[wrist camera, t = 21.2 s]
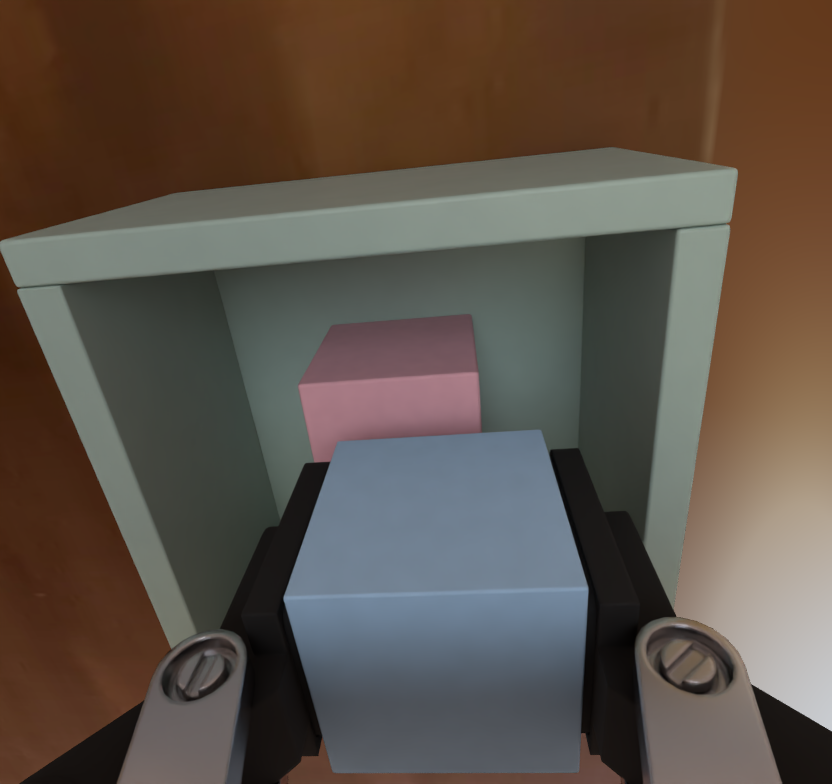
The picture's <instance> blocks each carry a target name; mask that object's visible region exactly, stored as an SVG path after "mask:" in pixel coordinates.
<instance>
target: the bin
mask: <svg viewBox="0 0 832 784" xmlns="http://www.w3.org/2000/svg"><path fill="white" fill-rule="evenodd" d="M737 176H738V172H737V169H735V168H732V167H727V166H721V165H715V164H709V163H703V162H697V161H691V160H685V159H679V158H673V157H667V156H661V155H656V154H650V153H644V152H638V151H632V150H626V149H620V148H615V147H610V148H600V149H591V150H581V151H571V152H562V153H552V154H543V155H533V156H524V157H514V158H505V159H495V160H486V161H476V162H466V163H457V164H447V165H438V166H428V167H419V168H409V169H400V170H390V171H381V172H371V173H361V174H352V175H342V176H333V177H323V178H314V179H304V180H295V181H285V182H275V183H266V184H256V185H247V186H237V187H228V188H218V189H209V190H199V191H190V192H180V193H174V194H170V195H168V196H163V197H160V198H156V199H152V200H149V201H145V202H141V203H137V204H134V205H130V206H126V207H123V208H119V209H115V210H112V211H108V212H104V213H101V214H97V215H93V216H90V217H86V218H82V219H79V220H75V221H71V222H67V223H64V224H60V225H56V226H53V227H49V228H45V229H42V230H38V231H34V232H31V233H27V234H23V235H20V236H16V237H12V238H9V239H5V240H2V241H1V242H0V251H1V253H2V255H3V258H4V260H5V262H6V265H7V267H8V269H9V272H10V274H11V276H12V279H13V281H14V283H15V285H16V286H17V287H21V288H20V289H18V290H17V293H18V295H19V297H20V300H21V302H22V304H23V306H24V309H25V311H26V313H27V316H28V318H29V320H30V323H31V325H32V327H33V330H34V332H35V334H36V337H37V339H38V341H39V343H40V346H41V348H42V350H43V353H44V355H45V357H46V360H47V362H48V364H49V367H50V369H51V371H52V374H53V376H54V378H55V381H56V383H57V385H58V387H59V390H60V392H61V394H62V397H63V399H64V401H65V404H66V406H67V408H68V411H69V413H70V415H71V418H72V420H73V422H74V424H75V427H76V429H77V431H78V434H79V436H80V438H81V441H82V443H83V445H84V448H85V450H86V452H87V455H88V457H89V459H90V461H91V464H92V466H93V468H94V471H95V473H96V475H97V478H98V480H99V482H100V485H101V487H102V489H103V492H104V494H105V496H106V498H107V501H108V503H109V505H110V508H111V510H112V512H113V515H114V517H115V519H116V522H117V524H118V526H119V529H120V531H121V533H122V536H123V538H124V540H125V542H126V545H127V547H128V549H129V552H130V554H131V556H132V559H133V561H134V563H135V566H136V568H137V570H138V573H139V575H140V577H141V579H142V582H143V584H144V586H145V589H146V591H147V593H148V596H149V598H150V600H151V603H152V605H153V607H154V610H155V612H156V614H157V616H158V619H159V621H160V623H161V626H162V628H163V630H164V633H165V635H166V637H167V640H168V642H169V644H170V647H171V649H172V648H174V647H175V646H176V645H177V644H179V643H180V642H181V641H183V640H185V639H187V638H189V637H190V636H192V635H194V634H197V633H200V632H204V631H207V630H215V629H220V627H221V625H222V622H223V620H224V618H225V616H226V614H227V611H228V609H229V607H230V605H231V602H232V600H233V598H234V596H235V594H236V591H237V589H238V587H239V585H240V582H241V580H242V578H243V576H244V574H245V571H246V569H247V567H248V565H249V563H250V560H251V558H252V556H253V554H254V551H255V549H256V547H257V545H258V543H259V540H260V538H261V536H262V534H263V532H264V531H265V529H266V528H268V527H272V526H278V525H279V523H280V521H281V518H282V516H283V513H284V511H285V509H286V506H287V504H288V502H289V499H290V497H291V494H292V492H293V490H294V487H295V485H296V483H297V480H298V478H299V475H300V473H301V471H302V468H303V466H304V464H305V463H314V459H313V455H312V450H311V445H310V441H309V436H308V432H307V427H306V422H305V418H304V413H303V409H302V404H301V399H300V395H299V390H298V384H299V382H300V380H301V379H302V377H303V375H304V373H305V372H306V370H307V368H308V366H309V364H310V363H311V361H312V359H313V357H314V356H315V354H316V352H317V350H318V349H319V347H320V345H321V343H322V341H323V340H324V338H325V336H326V334H327V333H328V331H329V329H330V327H331V326H332V325H338V324H351V323H363V322H376V321H388V320H401V319H413V318H426V317H439V316H451V315H464V314H470V315H471V316H472V322H473V331H474V339H475V347H476V355H477V363H478V371H479V386H480V404H481V422H482V433H488V432H505V431H522V430H541V431H542V434H543V437H544V440H545V444H546V447H547V450H548V454H550V450H551V449H567V448H579V450H580V452H581V455H582V457H583V460H584V462H585V465H586V467H587V470H588V472H589V475H590V478H591V480H592V483H593V485H594V488H595V490H596V493H597V495H598V498H599V500H600V503H601V505H602V508H603V510H604V512H610V511H626V512H628V513H629V515H630V517H631V518H632V520H633V523H634V525H635V527H636V529H637V531H638V533H639V536H640V538H641V540H642V542H643V544H644V547H645V549H646V551H647V553H648V555H649V558H650V560H651V562H652V564H653V566H654V568H655V571H656V573H657V575H658V577H659V579H660V582H661V584H662V586H663V588H664V590H665V593H666V595H667V597H668V599H669V601H670V603H671V606H672V608H673V610H674V603H675V596H676V590H677V583H678V577H679V570H680V563H681V556H682V550H683V543H684V536H685V530H686V523H687V516H688V509H689V503H690V496H691V489H692V482H693V476H694V469H695V462H696V456H697V449H698V442H699V435H700V429H701V422H702V415H703V409H704V402H705V395H706V388H707V382H708V375H709V368H710V362H711V354H712V348H713V341H714V335H715V328H716V321H717V314H718V308H719V301H720V294H721V288H722V281H723V274H724V268H725V260H726V254H727V247H728V240H729V233H730V226H729V225H727V224H726V223H728V222H730V220H731V217H732V210H733V203H734V196H735V189H736V183H737Z"/></svg>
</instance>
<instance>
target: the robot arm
mask: <svg viewBox="0 0 832 784" xmlns="http://www.w3.org/2000/svg"><path fill="white" fill-rule="evenodd" d="M549 457H550V460H551V464H552V467H553V471H554V474H555V477H556V481H557V484H558V487H559V491H560V494H561V497H562V501H563V504H564V508H565V511H566V514H567V518H568V521H569V524H570V528H571V531H572V534H573V538H574V541H575V545H576V548H577V551H578V555H579V558H580V561H581V565H582V568H583V571H584V575H585V578H586V581H587V585H588V588H589V589H588V608H587V628H586V647H585V666H584V685H583V704H582V724H581V733H586V738H587V742H588V747H589V751H590V755H600V756H601V760H602V762H603V763H605V764H606V765H607V766H608V767H609V768H611V769H612V770H613V771H614V772H616V773H617V774H618V775H619V776H620V777H621V784H832V731H830V730H828V729H827V728H825V727H823V726H821V725H820V724H818V723H816V722H815V721H813V720H811V719H810V718H808V717H806V716H805V715H803V714H801V713H799V712H798V711H796V710H794V709H792V708H791V707H789V706H787V705H786V704H784V703H782V702H781V701H779V700H777V699H775V698H774V697H772V696H770V695H769V694H767V693H765V692H763V691H762V690H760V689H759V688H757V687H755V686H753V685H752V684H751V683H750V680H749V677H748V673H747V670H746V667H745V664H744V662H743V660H742V658H741V656H740V654H739V652H738V651H737V650H736V649H735V647H734V646H733V645H732V644H731V643H730V642H729V641H728V640H727V639H726V638H725V637H724V636H722V635H721V634H719V633H718V632H717V631H715V630H714V629H713V628H710V627H708V626H706V625H704V624H702V623H699V622H697V621H694V620H689V619H685V618H681V617H676V614H675V612H674V610H673V608H672V606H671V603H670V601H669V599H668V597H667V595H666V593H665V590H664V588H663V586H662V584H661V582H660V579H659V577H658V575H657V573H656V571H655V568H654V566H653V564H652V562H651V560H650V558H649V555H648V553H647V551H646V549H645V547H644V544H643V542H642V540H641V538H640V536H639V533H638V531H637V529H636V527H635V525H634V523H633V520H632V518H631V517H630V515H629V513H628V512H626V511H610V512H604V510H603V508H602V505H601V503H600V500H599V498H598V495H597V493H596V490H595V488H594V485H593V483H592V480H591V478H590V475H589V472H588V470H587V467H586V465H585V462H584V460H583V457H582V455H581V452H580V450H579V448H567V449H551V450H550V454H549ZM329 465H330V462H314V463H305V464H304V466H303V468H302V471H301V473H300V475H299V478H298V480H297V483H296V485H295V487H294V490H293V492H292V494H291V497H290V499H289V502H288V504H287V506H286V509H285V511H284V513H283V516H282V518H281V521H280V523H279V525H278V526H272V527H268V528H266V529H265V531H264V532H263V534H262V536H261V538H260V540H259V543H258V545H257V547H256V549H255V551H254V554H253V556H252V558H251V560H250V563H249V565H248V567H247V569H246V571H245V574H244V576H243V578H242V580H241V582H240V585H239V587H238V589H237V591H236V594H235V596H234V598H233V600H232V602H231V605H230V607H229V609H228V611H227V614H226V616H225V618H224V620H223V622H222V625H221V627H220V629H215V630H207V631H204V632H200V633H197V634H194V635H192V636H190V637H189V638H187V639H185V640H183V641H181V642H180V643H179V644H177V645H176V646H175V647H174V648H172V649H171V650H170V651H169V652H168V653H167V654H166V655H165V657H164V658H163V659H162V660H161V661H160V663H159V664H158V666H157V668H156V670H155V672H154V674H153V676H152V679H151V682H150V685H149V688H148V691H147V694H146V697H145V700H144V701H143V702H141V703H140V704H138V705H137V706H135V707H134V708H132V709H131V710H129V711H128V712H126V713H125V714H123V715H122V716H120V717H119V718H117V719H116V720H114V721H113V722H111V723H110V724H108V725H107V726H105V727H104V728H102V729H101V730H99V731H98V732H96V733H95V734H93V735H92V736H90V737H89V738H87V739H86V740H84V741H83V742H81V743H80V744H78V745H77V746H75V747H74V748H72V749H71V750H69V751H67V752H66V753H64V754H63V755H61V756H60V757H58V758H57V759H55V760H54V761H52V762H51V763H49V764H48V765H46V766H45V767H43V768H42V769H40V770H39V771H37V772H36V773H34V774H33V775H31V776H30V777H28V778H27V779H25V780H24V781H22V782H21V783H20V784H288V772H289V771H291V770H292V769H293V768H294V767H295V766H296V765H298V764H299V763H300V761H301V757H302V756H318V754H319V749H320V745H321V740H322V733H321V729H320V726H319V722H318V719H317V715H316V712H315V708H314V705H313V701H312V698H311V694H310V690H309V687H308V683H307V680H306V676H305V673H304V669H303V666H302V662H301V659H300V655H299V652H298V648H297V645H296V641H295V638H294V634H293V631H292V627H291V624H290V620H289V617H288V613H287V610H286V606H285V603H284V595H285V592H286V589H287V586H288V583H289V580H290V577H291V574H292V571H293V569H294V566H295V563H296V560H297V557H298V554H299V551H300V548H301V545H302V543H303V540H304V537H305V534H306V531H307V528H308V525H309V522H310V519H311V517H312V514H313V511H314V508H315V505H316V502H317V499H318V496H319V493H320V491H321V488H322V485H323V482H324V479H325V476H326V473H327V470H328V467H329Z"/></svg>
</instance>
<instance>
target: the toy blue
mask: <svg viewBox="0 0 832 784" xmlns="http://www.w3.org/2000/svg"><path fill="white" fill-rule="evenodd" d="M588 589H589V588H588V585H587V581H586V578H585V575H584V571H583V568H582V565H581V561H580V558H579V555H578V551H577V548H576V545H575V541H574V538H573V534H572V531H571V528H570V524H569V521H568V518H567V514H566V511H565V508H564V504H563V501H562V497H561V494H560V491H559V487H558V484H557V481H556V477H555V474H554V471H553V467H552V464H551V460H550V457H549V454H548V450H547V447H546V444H545V440H544V437H543V434H542V431H541V430H522V431H505V432H488V433H471V434H454V435H437V436H420V437H403V438H386V439H369V440H352V441H339V442H337V444H336V447H335V450H334V453H333V456H332V459H331V462H330V465H329V467H328V470H327V473H326V476H325V479H324V482H323V485H322V488H321V491H320V493H319V496H318V499H317V502H316V505H315V508H314V511H313V514H312V517H311V519H310V522H309V525H308V528H307V531H306V534H305V537H304V540H303V543H302V545H301V548H300V551H299V554H298V557H297V560H296V563H295V566H294V569H293V571H292V574H291V577H290V580H289V583H288V586H287V589H286V592H285V595H284V603H285V606H286V610H287V613H288V617H289V620H290V624H291V627H292V631H293V634H294V638H295V641H296V645H297V648H298V652H299V655H300V659H301V662H302V666H303V669H304V673H305V676H306V680H307V683H308V687H309V690H310V694H311V698H312V701H313V705H314V708H315V712H316V715H317V719H318V722H319V726H320V729H321V733H322V736H323V740H324V743H325V747H326V750H327V754H328V757H329V761H330V764H331V768H332V771H333V772H334V773H577V772H579V762H580V743H581V724H582V704H583V685H584V666H585V647H586V628H587V608H588Z"/></svg>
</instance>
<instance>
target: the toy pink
mask: <svg viewBox="0 0 832 784" xmlns="http://www.w3.org/2000/svg"><path fill="white" fill-rule="evenodd" d="M298 390H299V395H300V399H301V404H302V409H303V413H304V418H305V422H306V427H307V432H308V436H309V441H310V445H311V450H312V455H313V459H314V462H331V459H332V456H333V453H334V450H335V447H336V444H337V442H339V441H352V440H369V439H386V438H403V437H420V436H437V435H454V434H471V433H482V422H481V404H480V386H479V371H478V363H477V355H476V347H475V339H474V331H473V322H472V316H471V315H470V314H464V315H451V316H439V317H426V318H413V319H401V320H388V321H376V322H363V323H351V324H338V325H332V326H331V327H330V329H329V331H328V333H327V334H326V336H325V338H324V340H323V341H322V343H321V345H320V347H319V349H318V350H317V352H316V354H315V356H314V357H313V359H312V361H311V363H310V364H309V366H308V368H307V370H306V372H305V373H304V375H303V377H302V379H301V380H300V382H299V384H298Z"/></svg>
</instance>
